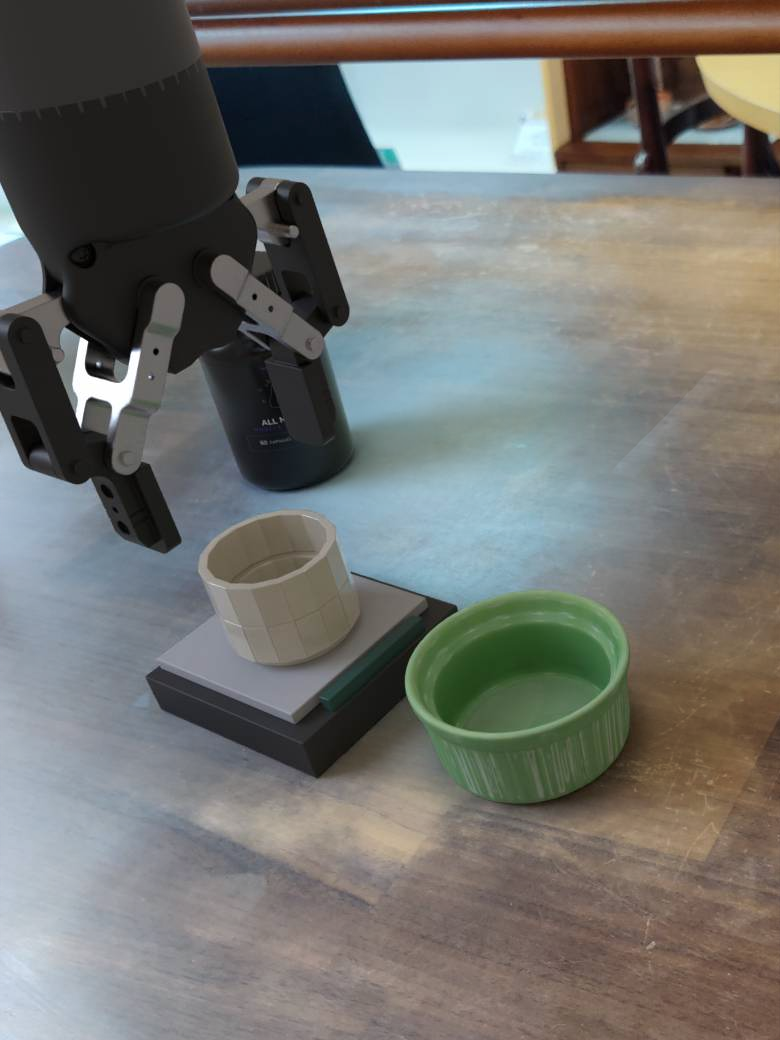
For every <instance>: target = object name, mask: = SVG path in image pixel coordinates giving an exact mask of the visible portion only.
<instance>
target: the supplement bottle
mask: <svg viewBox="0 0 780 1040" xmlns="http://www.w3.org/2000/svg"><path fill="white" fill-rule="evenodd" d="M251 275H252V276H253V277H254V278H256V279H257V280H258V281H260V282H261V283H262V284H264V285H265V286H266V287H268V288H269V289H270V290H272V291H273V292H274V293H276V294H277V295H278V296H279V297H281V298H282V299H283V300H284V298H283V296H282V293H281V290H280V288H279V285H278V282H277V279H276V277H275V274H274V271H273V269H272V266H271V263H270V260H269V258H268V255H267V252H266V250H256V251H255V257H254V262H253V268H252V274H251ZM236 334H237V337H238V339H236V340H234V341H233V342H231V343H229V344H228V345H226V346H224V347H221V348H216V349H212V350H207V351H205V352H204V353H203V354H202V355H201V356H200V357H199V358H198V360H199V363H200V366H201V369H202V372H203V375H204V378H205V380H206V383H207V386H208V388H209V392H210V394H211V397H212V400H213V403H214V405H215V408H216V411H217V415H218V417H219V419H220V422H221V426H222V429H223V431H224V434H225V436H226V439H227V442H228V445H229V448H230V451H231V453H232V456H233V458H234V461H235V464H236V466H237V469H238V471H239V473H240V475H241V476H242V478H243V479H244V480H245V481H247V482H248V483H249V484H251V485H252V486H255V487H258V488H260V489H264V490H271V491H272V490H273V491H282V490H283V491H285V490H293V489H298V488H303V487H307V486H311V485H313V484H316V483H320V482H321V481H323V480H326V479H328V478H330V477H332V476H333V475H335V474H337V473H338V472H340V471H341V469H343V468H344V467H345V466H346V464H348V462H349V461H350V459H351V457H352V454H353V453H354V440H353V435H352V431H351V428H350V425H349V421H348V417H347V413H346V409H345V406H344V403H343V400H342V396H341V393H340V389H339V385H338V381H337V378H336V375H335V372H334V367H333V364H332V361H331V357H330V353H329V349H328V347H327V343H326V339H325V337H324V338H323V340H324V347H323V351H322V353H321V355H320V360H321V363H322V366H323V370H324V373H325V376H326V379H327V383H328V386H329V388H328V389H330V393H331V398H332V399H333V403H334V406H335V409H336V417H335V422H334V423H333V427H334V430H335V438H334V439H332V440H331V441H330V442H328V443H327V444H325V445H324V446H322V447H317V446H314V445H310V444H306V443H303V442H299V441H296V440H295V439H294V438H292V436H291V435H290V434H289V432H288V430H287V427H286V424H285V421H284V418H283V415H282V412H281V409H280V406H279V403H278V400H277V397H276V394H275V392H274V389H273V386H272V383H271V380H270V377H269V374H268V371H267V368H266V365H265V362H264V361H265V360H267V359H269V358H270V357H272V353H271V350H267V349H266V348H264V347H263V346H261V345H260V344H258V343H257V342H256V341H254V340H253V339H251V338H250V337H248V336H247V335H245V334H244V333H243V332H241V331H240V330H237V331H236Z"/></svg>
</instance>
